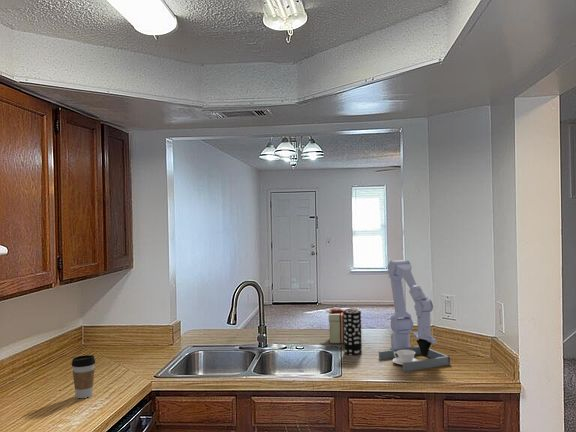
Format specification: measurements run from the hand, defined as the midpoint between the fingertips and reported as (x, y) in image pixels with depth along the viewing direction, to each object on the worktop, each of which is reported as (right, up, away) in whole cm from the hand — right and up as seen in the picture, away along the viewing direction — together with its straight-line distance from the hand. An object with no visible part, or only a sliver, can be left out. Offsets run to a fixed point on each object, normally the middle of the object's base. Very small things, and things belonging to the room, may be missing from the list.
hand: (424, 355), depth 225 cm
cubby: (-6, -2, -2) cm, 7 cm away
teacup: (-10, -2, -5) cm, 11 cm away
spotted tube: (-31, -3, +14) cm, 34 cm away
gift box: (-33, -3, +40) cm, 52 cm away
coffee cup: (-140, -5, -37) cm, 145 cm away
